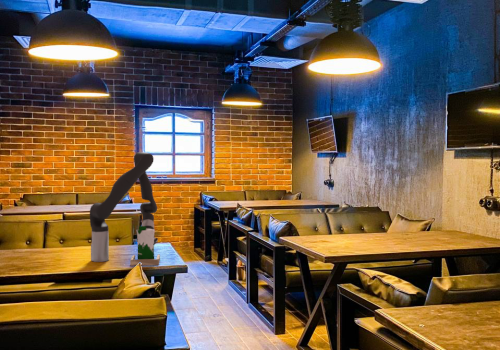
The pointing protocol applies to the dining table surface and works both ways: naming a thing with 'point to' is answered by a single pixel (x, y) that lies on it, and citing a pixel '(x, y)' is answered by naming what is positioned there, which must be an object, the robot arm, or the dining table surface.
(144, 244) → the soya milk
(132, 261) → the stop tray
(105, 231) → the robot arm
